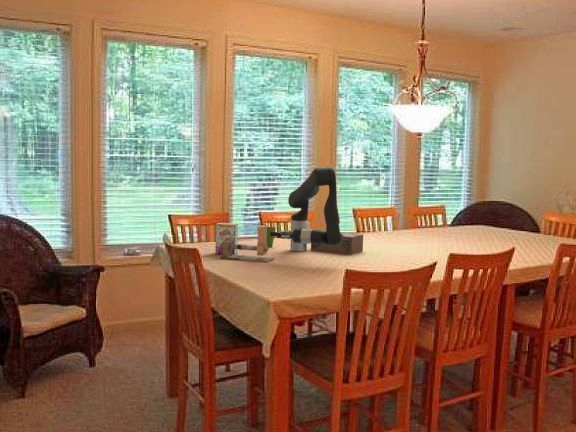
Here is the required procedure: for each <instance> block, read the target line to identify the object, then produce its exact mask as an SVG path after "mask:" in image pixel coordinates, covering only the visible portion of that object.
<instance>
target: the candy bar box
mask: <svg viewBox="0 0 576 432" xmlns="http://www.w3.org/2000/svg"><path fill="white" fill-rule="evenodd" d="M238 233H239V224H237V223H230V222H229V223H228V222H217V223H216V224H215V254H217V255H218V254H219V255H223V242H225V241H232V244H239V242H238V240H239V239H238V238H239V237H238V236H239V234H238ZM232 255H238V249H232Z"/></svg>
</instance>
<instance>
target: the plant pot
mask: <svg viewBox="0 0 576 432" xmlns="http://www.w3.org/2000/svg"><path fill="white" fill-rule="evenodd" d="M276 230H277V227H275V226H267V247H268V249H269V248H272V247H273V245H274V239H275V236H270V232H276ZM256 231H257V232H258V226H257V227H256Z"/></svg>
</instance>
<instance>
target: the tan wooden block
mask: <svg viewBox="0 0 576 432" xmlns="http://www.w3.org/2000/svg"><path fill="white" fill-rule="evenodd" d="M257 227H258V231H257V243H256V244H257V245H256V246H257V251H256V255H257V256H261V257H264V256H265V255H267V253H268V251H264V246H265V247H267V227H268V225H258V226H257Z"/></svg>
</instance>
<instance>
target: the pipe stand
mask: <svg viewBox="0 0 576 432" xmlns="http://www.w3.org/2000/svg"><path fill="white" fill-rule="evenodd" d="M232 249H237V250H241V251H242V250H243V251H254V252H255V251H256V252H257V245H251V244H250V245H249V244H241V243H240V244H239V243H238V244H232V241H225V242H223V254H222V256H220V257H219V259H220V260H221V259H222V260H231V261H232V260H233V261H242V262H243V261H245V262H255V263H256V262H257V263H268V264H269V263H270V262H271V261H274V260H275V257H269V256H268V257H267V256H258V255H257V256H256V255H255V256H254V255H245V254H244V255H243V254H236V255H232ZM264 251H267V252H269V247H265V246H264Z"/></svg>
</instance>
